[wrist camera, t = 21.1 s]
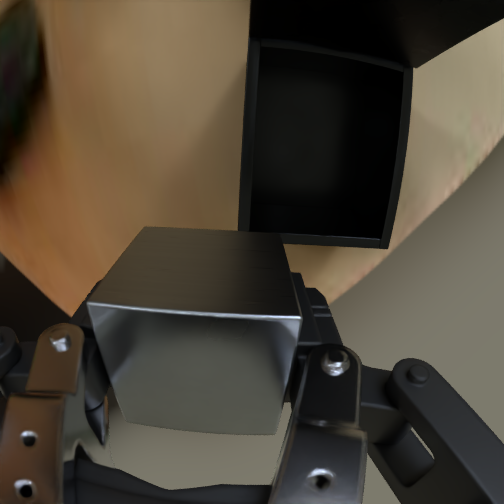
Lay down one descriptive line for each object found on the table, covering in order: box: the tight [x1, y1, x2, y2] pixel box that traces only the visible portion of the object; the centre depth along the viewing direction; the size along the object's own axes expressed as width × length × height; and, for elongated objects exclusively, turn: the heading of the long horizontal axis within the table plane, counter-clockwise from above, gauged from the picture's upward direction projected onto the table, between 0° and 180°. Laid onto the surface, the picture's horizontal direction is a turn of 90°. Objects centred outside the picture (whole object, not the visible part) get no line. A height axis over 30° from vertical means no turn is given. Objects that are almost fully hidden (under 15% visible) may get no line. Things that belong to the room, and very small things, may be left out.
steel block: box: [86, 227, 303, 435], centre depth 8 cm, size 4×4×4 cm
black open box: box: [238, 37, 413, 249], centre depth 25 cm, size 16×13×9 cm
